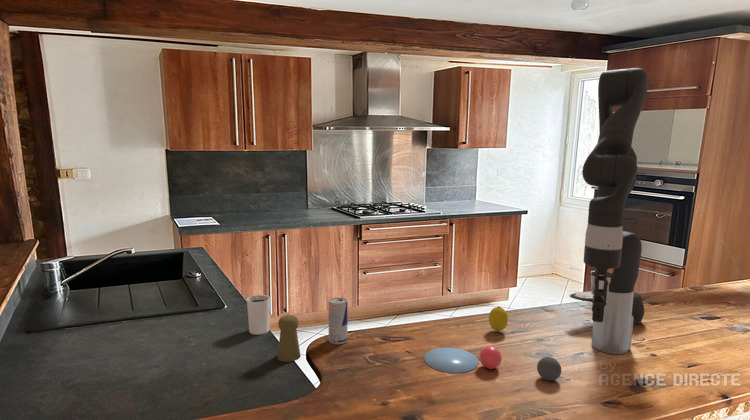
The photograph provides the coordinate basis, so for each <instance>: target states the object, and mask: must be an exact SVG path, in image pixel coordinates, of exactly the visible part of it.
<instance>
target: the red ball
mask: <svg viewBox="0 0 750 420" xmlns="http://www.w3.org/2000/svg"><path fill="white" fill-rule="evenodd" d="M478 356H479V357H478V358H479V359H478V360H479V363H480V364H481V365H482V366H483V367H484V368H486V369H489V370H493V369H497V368H498V367H499V366H500V365H501V363H502V354H501V352H500V350H499V349H498V348H497V347H495V346H492V345H491V346H490V345H487V346H485V347H483V348H481V350H480V351H479V354H478Z"/></svg>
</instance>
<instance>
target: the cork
mask: <svg viewBox="0 0 750 420" xmlns="http://www.w3.org/2000/svg"><path fill="white" fill-rule="evenodd" d="M277 326H278V329H279V330H280V332H279V338H278V339H279V340H278V350H277V356H276V357H277V360H278V361H280V362H283V363H290V362H296V361H298V360H299V359H300V358H301V352H300V344H299V338H298V337H299V336H298V332H297V330H298V329H297V328H299V319H298V317H297V316H295V315H291V314H287V315H283V316H281V317H280V318H279V319H278V323H277Z"/></svg>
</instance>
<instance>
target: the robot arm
mask: <svg viewBox="0 0 750 420" xmlns="http://www.w3.org/2000/svg"><path fill="white" fill-rule="evenodd" d="M648 86H649V85H648V74H647V71H646V70H645V69H644V68H641V67H631V68H621V69H620V68H619V69H612V70H611V69H610V70H605V71H603V72H601V74H600V76H599V79H598V87H597V90H598V91H597V96H598V97H597V98H598V120H599V121H598V122H599V123H598V125H599V130H598V131H599V134H598V139H597V143H596V145H595V146H594V148H593V149H592V150H591V152H590V153H589V154H588V156H587V157H586V159H585V160H584V164H583V166H582V173H581V174H582V178H583V180H584V182H585V183H586V184H587V185H588V186H592V187H597V197H594V198H591V199H590V201H589V204H588V215H587V216H588V217H587V225H586V230H585V234H584V235H585V238H584V249H583V250H584V251H583V263H584V264H585V265H587V266H589V267H593V270H591V271H590V283H591V284H590V288H591V289H590V291H591V293H592V294H593V301H592V302H591V303H592V304H591V305H592V306H591V311H592V313H591V314H592V316H591V319H592V321H593V323H592V333H591V346H592V347H593V348H594V349H595V350H597V351H599V352H603V353H606V354H611V355H624V354H627V353H628V352H629V350H631V349H632V348H631V347H632V339H633V328H634V325H633V320H634V317H633V316H632V305H633V293H634V291H635V285H636V284H637V283H636V282H637V280H638V278H639V269H640V263H641V258H642V250H643V248H642V247H643V246H642V241H641V238H640V236H639V235H637V234H636V233H634V232H629V231H625V230H623V229H624V227H623V225H624V215H625V214H624V213H625V206H626V202H627V198H628V197H629V195H631V192H632V191H633V189H634V187H635V185H636V182H637V173H638V157H637V154H636V152H635V150H634V149H633V147H632V145H633V137H634V132H635V127H636V125H637V122H638V119H639V117H640V115H641V112H642V110H643V107H644V105H645V101H646V98H647V95H648ZM613 107H618V109H617V110H616V111H614V112H613V110H614V109H613ZM619 107H620V108H619ZM610 269H613V270H612V272H608V270H610Z"/></svg>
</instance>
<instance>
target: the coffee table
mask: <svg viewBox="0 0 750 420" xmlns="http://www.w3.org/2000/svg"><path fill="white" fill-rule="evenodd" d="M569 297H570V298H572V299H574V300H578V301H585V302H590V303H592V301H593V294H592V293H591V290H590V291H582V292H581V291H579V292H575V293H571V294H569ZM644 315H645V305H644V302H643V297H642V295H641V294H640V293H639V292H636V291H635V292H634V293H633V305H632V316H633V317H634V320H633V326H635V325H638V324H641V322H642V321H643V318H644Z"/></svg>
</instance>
